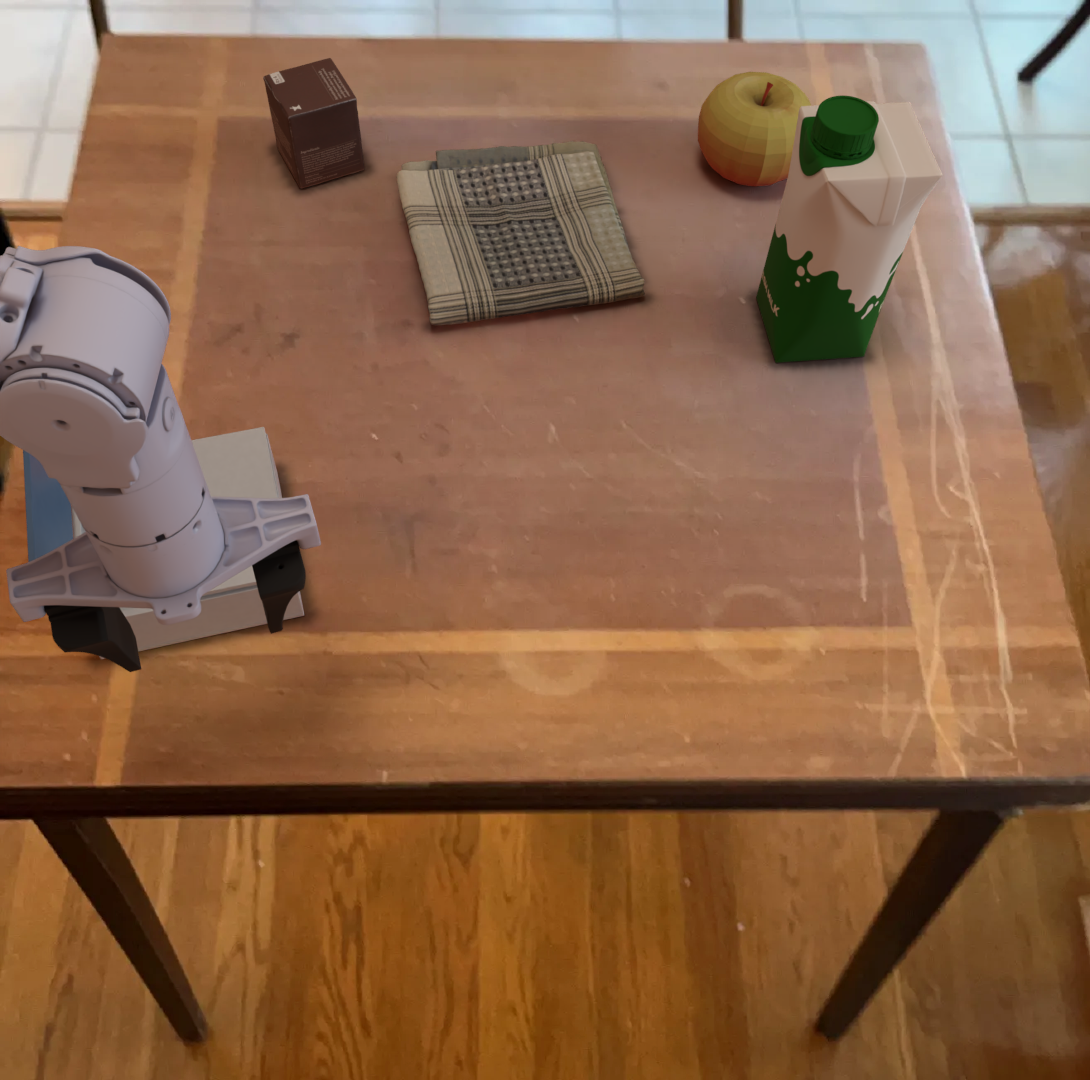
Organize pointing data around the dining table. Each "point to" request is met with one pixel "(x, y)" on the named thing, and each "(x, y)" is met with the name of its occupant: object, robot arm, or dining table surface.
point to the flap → (44, 510)
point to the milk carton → (842, 225)
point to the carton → (235, 604)
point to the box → (315, 122)
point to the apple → (751, 127)
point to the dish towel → (516, 231)
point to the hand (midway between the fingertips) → (203, 635)
